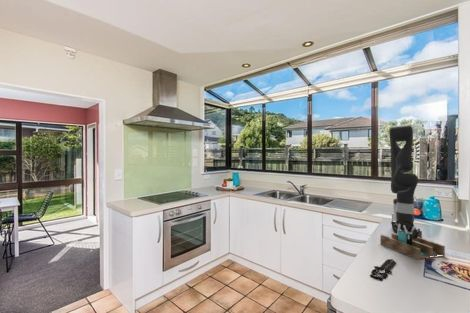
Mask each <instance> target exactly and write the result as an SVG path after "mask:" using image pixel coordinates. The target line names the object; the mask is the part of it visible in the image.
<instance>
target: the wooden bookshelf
mask: <svg viewBox="0 0 470 313" xmlns="http://www.w3.org/2000/svg"><path fill="white" fill-rule="evenodd" d="M397 237H398V235H397V234H396V233H391V236H387V235H385V234H380V240H379V241H380V243H379V244H380V245H383V246H384V247H386V248H387V247H388V248H389V249H392V250H394V251H396V252H398V253H401V254H404V255H405V256H408V257H411V258H413V259H415V260H418V261H419V260H425V258H426V257H430V256H437V255H446V253H445V252H446V249H445V248H446V247H445V245H444V244H441V243H437V242H434V241H431V240H428V239H426V238H423V237H422V238H420V237H417V239H412V245H409V244H406V243H404V242H401V241H398V240H397ZM426 259H427V258H426Z"/></svg>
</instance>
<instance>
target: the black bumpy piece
mask: <svg viewBox="0 0 470 313" xmlns="http://www.w3.org/2000/svg"><path fill="white" fill-rule="evenodd" d="M396 264H397V262H396V261H395V260H394V259H393V258H390V259H386V260H385V261H384V262H383V263H382V264H381V265H380V266H377V265H375V266H373V267H374V268H375V269H374V268H373V269H372V270H371V272H370V273H371V274H370V275H369V277H370V278H372V279H375V280H378V281H380V282H382V281H383V278H384V279H387V278H388V274H389V275H392V274H393V271H392V269H393V267H394V266H395V265H396ZM381 270H382V271H383V272H382V271H381ZM380 271H381V272H380ZM384 271H385V272H384Z"/></svg>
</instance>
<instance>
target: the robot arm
mask: <svg viewBox="0 0 470 313" xmlns="http://www.w3.org/2000/svg"><path fill="white" fill-rule="evenodd" d="M388 134H389V135H388V136H389V143H390V170H391V173H390V174H391V176H390V177H391V178H390V179H391V180H390V191H391V192H392V194H396V198H393V201H392V202H393V203H392V204H393V208H392V209H393V211H392V214H391V222H390V224H391V228H392V231H393V234H396V235H398V231H405V234H407V238H408V239H407V244H409V245H412V239H417V236H418V234H419V231H421V228H418V227H416V226H415V225H414V222H415V204H414V203H415V202H414V198H415V196H414V195H415V190H416V189H417V186H418V184H419V183H418V182H419V176H418V175H417V174H415V173H409V172H411V171H412V170H413V167H414V166H413V158H412V157H413V155H412V154H413V153H412V152H413V145H414V144H413V143H414V141H413V140H414V131H413V127H412V126H411V125H406V124H405V125H397V126H395V125H394V126H391V127H389V132H388ZM398 142H405V144H404V145H403V146H402V148H401V147H400V146H399V144H398ZM412 229H413V232H412ZM409 234H410V235H409ZM397 240H398V237H397Z"/></svg>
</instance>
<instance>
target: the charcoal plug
mask: <svg viewBox="0 0 470 313" xmlns="http://www.w3.org/2000/svg"><path fill="white" fill-rule="evenodd" d="M412 232H413V229H412ZM422 232H423V231H422V230H420V231H419V234H418V236H417V237H420V238H423V234H422Z"/></svg>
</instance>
